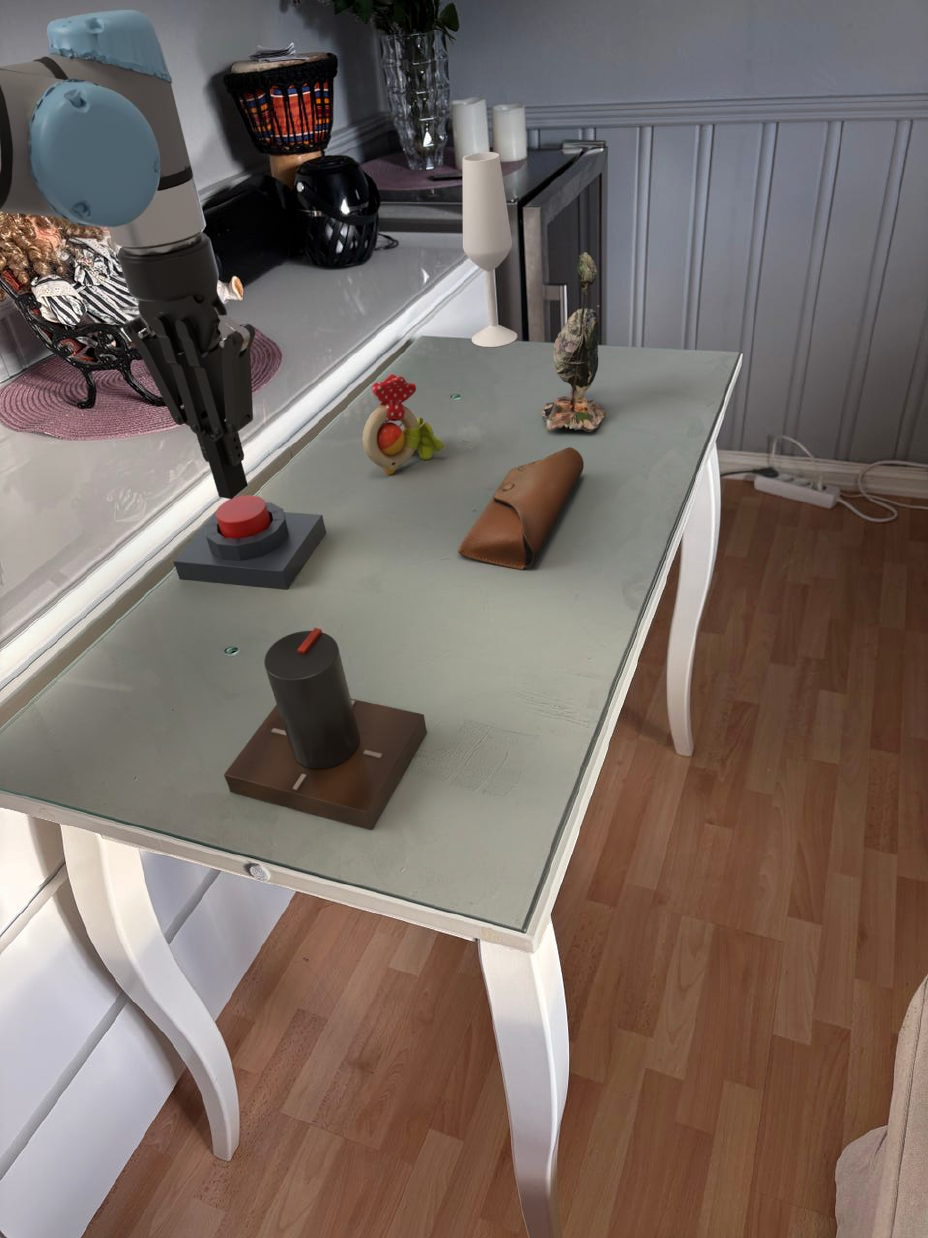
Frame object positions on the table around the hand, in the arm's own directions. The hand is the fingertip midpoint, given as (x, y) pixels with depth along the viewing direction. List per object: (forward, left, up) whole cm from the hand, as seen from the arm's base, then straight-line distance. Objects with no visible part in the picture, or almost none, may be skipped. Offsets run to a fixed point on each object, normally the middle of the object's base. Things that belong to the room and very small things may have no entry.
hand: (233, 490), depth 88 cm
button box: (0, 0, -8) cm, 8 cm away
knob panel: (+9, -30, -8) cm, 32 cm away
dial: (+9, -30, -6) cm, 32 cm away
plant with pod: (+37, +22, -8) cm, 44 cm away
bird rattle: (+16, +15, -8) cm, 24 cm away
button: (0, 0, -4) cm, 4 cm away
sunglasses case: (+28, +1, -8) cm, 29 cm away
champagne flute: (+30, +49, -8) cm, 58 cm away
